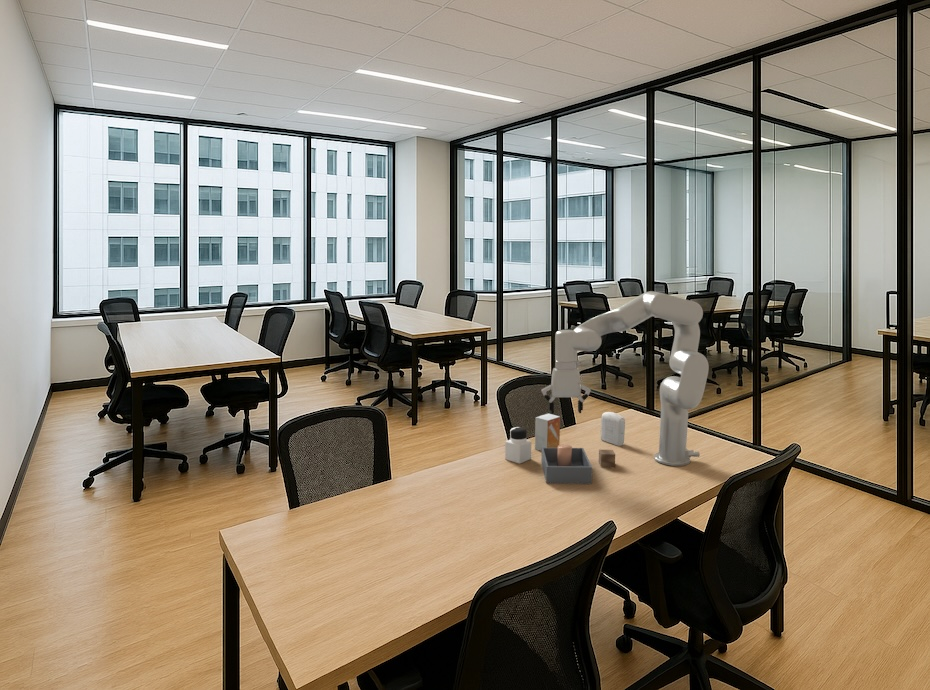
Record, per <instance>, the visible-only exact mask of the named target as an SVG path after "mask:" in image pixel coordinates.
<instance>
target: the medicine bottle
mask: <svg viewBox="0 0 930 690" xmlns="http://www.w3.org/2000/svg"><path fill="white" fill-rule="evenodd" d="M509 432H510V433H509V435H510V436H509V439H508V440H506V441H505V442H504V444H505V445H504V452H505V453H504V458H505V459H504V460H506V461H509V462H513V463H516V464H522V463H525V462H527V461H529V460H531V459H532V441H531V440H530V439H529V440H528V439H527V429H526V428H525V427H521V426H516V427H511V429H510V430H509Z"/></svg>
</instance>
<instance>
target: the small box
mask: <svg viewBox="0 0 930 690" xmlns="http://www.w3.org/2000/svg"><path fill="white" fill-rule="evenodd" d="M534 426H535V427H534V428H535V429H534V430H535V431H534V449H535V450H537V451H540V452H542V448H558V445H560V441H561V440H560V438H561V437H560V436H561V435H560V434H561V416H560V415H555V414H552V413H545V414H541V415H539V416H536V417H535V424H534Z"/></svg>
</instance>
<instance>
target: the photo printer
mask: <svg viewBox="0 0 930 690" xmlns="http://www.w3.org/2000/svg"><path fill="white" fill-rule="evenodd" d="M600 422H601V426H600V440H602V441H604V442H606V443H609V444H612V445H615V446H617V447H621V446H623V445H624V444H625V432H626V431H625V430H626V419H625V418H624V417H623V416H622V415H620V414H619V413H616V412H613V411H606V412H603V413H602V415H601V421H600Z"/></svg>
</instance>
